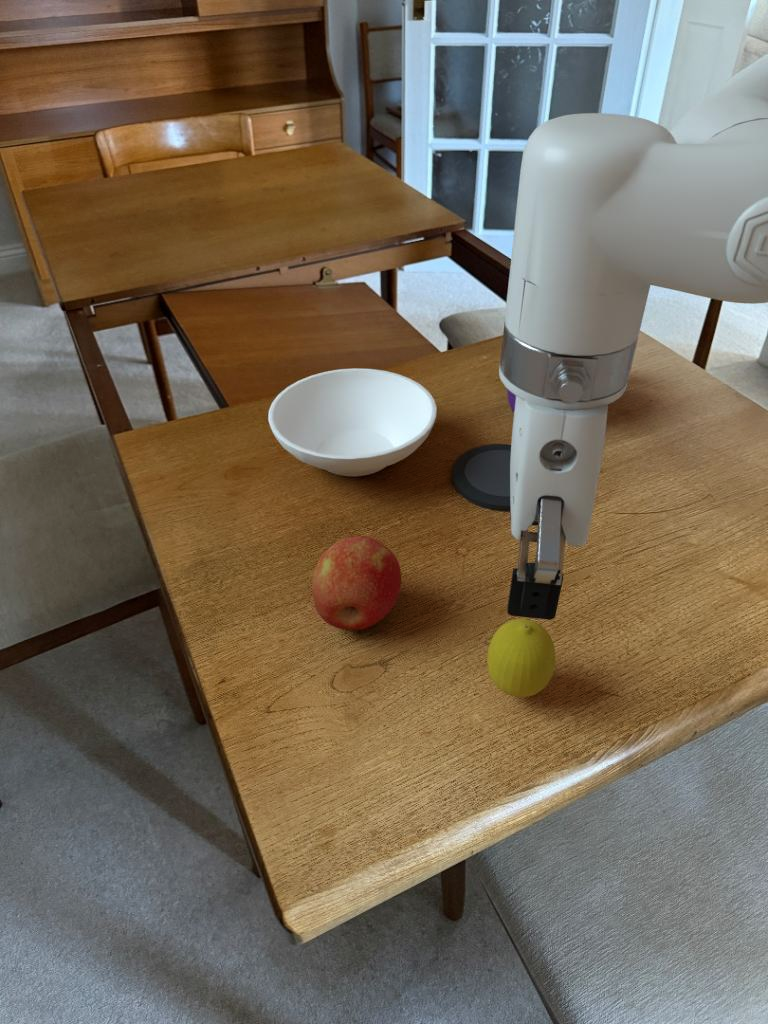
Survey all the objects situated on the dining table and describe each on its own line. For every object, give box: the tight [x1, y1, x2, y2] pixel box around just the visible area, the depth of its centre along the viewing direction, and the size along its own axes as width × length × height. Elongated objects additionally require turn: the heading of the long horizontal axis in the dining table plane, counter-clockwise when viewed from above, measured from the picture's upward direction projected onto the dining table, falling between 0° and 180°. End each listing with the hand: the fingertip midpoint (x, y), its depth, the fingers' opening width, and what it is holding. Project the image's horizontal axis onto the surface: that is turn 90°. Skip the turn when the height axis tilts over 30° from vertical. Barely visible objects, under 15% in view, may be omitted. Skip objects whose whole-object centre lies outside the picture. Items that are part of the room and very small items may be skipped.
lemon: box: [486, 618, 557, 698], centre depth 61 cm, size 6×6×8 cm
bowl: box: [267, 367, 438, 477], centre depth 88 cm, size 20×20×7 cm
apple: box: [311, 535, 402, 631], centre depth 68 cm, size 8×8×8 cm
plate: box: [451, 443, 511, 512], centre depth 86 cm, size 12×12×1 cm
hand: (530, 565), depth 54 cm, fingers open, 9 cm apart
